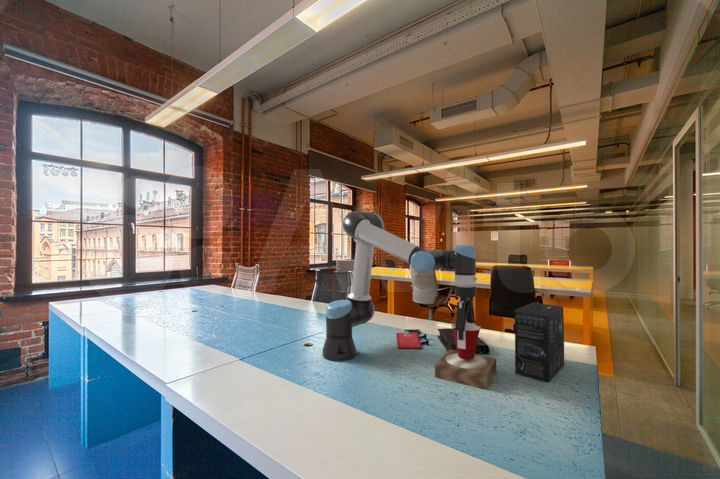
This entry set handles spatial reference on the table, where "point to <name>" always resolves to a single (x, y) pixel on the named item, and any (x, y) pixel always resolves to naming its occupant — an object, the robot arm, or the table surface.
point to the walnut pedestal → (466, 369)
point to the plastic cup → (467, 341)
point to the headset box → (539, 340)
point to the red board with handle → (411, 339)
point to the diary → (449, 342)
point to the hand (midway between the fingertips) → (465, 343)
